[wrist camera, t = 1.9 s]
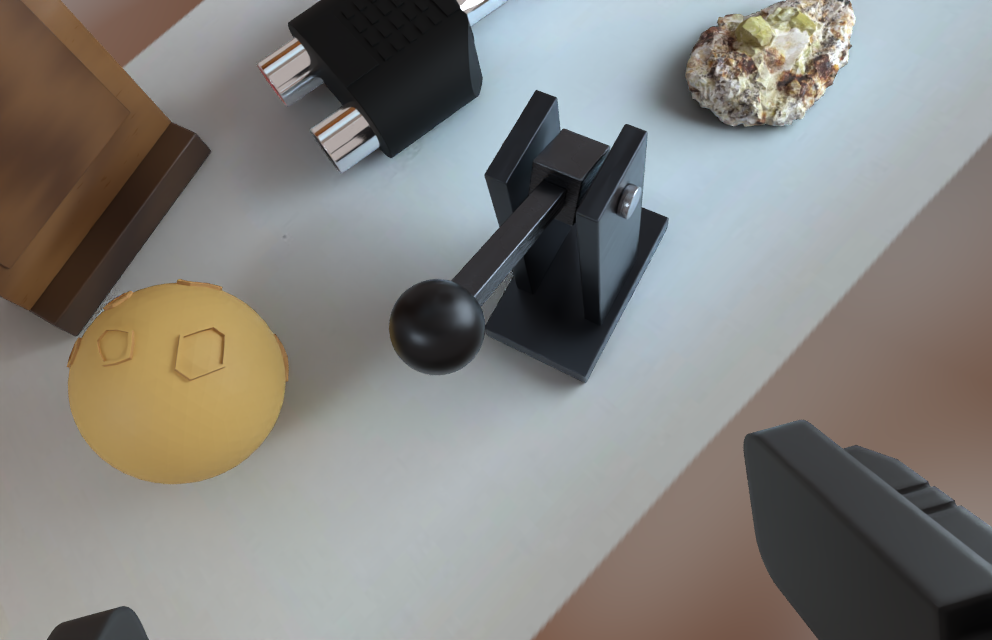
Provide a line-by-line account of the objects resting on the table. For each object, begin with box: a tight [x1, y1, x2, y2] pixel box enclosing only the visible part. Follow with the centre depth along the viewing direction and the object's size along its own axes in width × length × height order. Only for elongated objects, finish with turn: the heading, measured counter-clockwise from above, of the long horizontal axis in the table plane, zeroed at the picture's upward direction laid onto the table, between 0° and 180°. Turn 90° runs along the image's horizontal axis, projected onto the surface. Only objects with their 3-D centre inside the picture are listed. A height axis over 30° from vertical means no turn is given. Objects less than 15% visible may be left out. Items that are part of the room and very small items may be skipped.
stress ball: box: [67, 279, 289, 484], centre depth 37 cm, size 10×10×10 cm
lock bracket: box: [485, 90, 669, 383], centre depth 36 cm, size 10×6×13 cm, turn 151°
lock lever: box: [389, 129, 610, 375], centre depth 28 cm, size 13×3×3 cm, turn 151°
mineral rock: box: [685, 0, 856, 127], centre depth 43 cm, size 11×4×8 cm
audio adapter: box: [256, 0, 508, 174], centre depth 46 cm, size 11×5×25 cm
